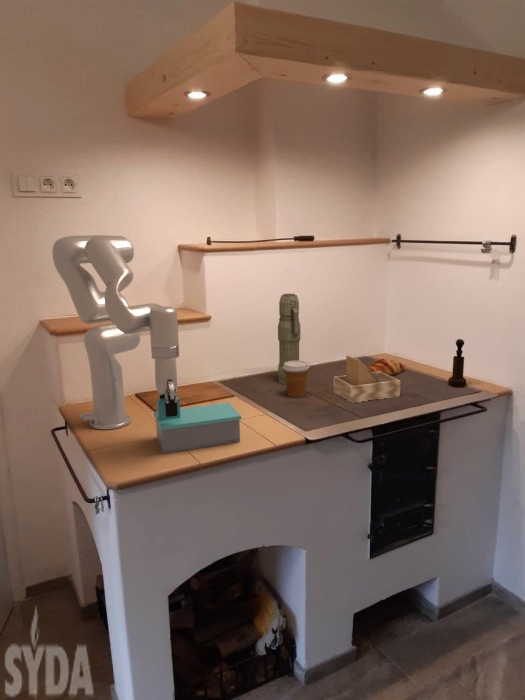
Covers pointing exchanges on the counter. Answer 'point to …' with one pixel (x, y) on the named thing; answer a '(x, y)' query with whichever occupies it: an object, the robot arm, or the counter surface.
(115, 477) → the counter surface
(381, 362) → the croissant
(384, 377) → the open rectangular storage box
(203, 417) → the lid
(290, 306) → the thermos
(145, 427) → the counter surface
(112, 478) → the counter surface
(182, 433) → the tub
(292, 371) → the disposable coffee cup
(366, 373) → the sandwich container
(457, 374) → the dark brown tall piece
